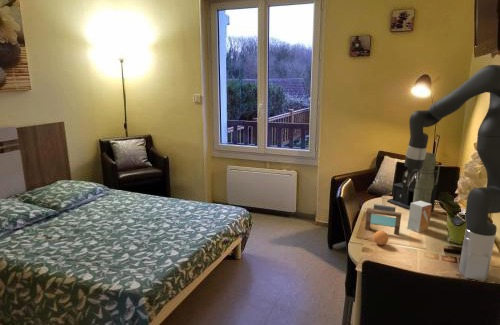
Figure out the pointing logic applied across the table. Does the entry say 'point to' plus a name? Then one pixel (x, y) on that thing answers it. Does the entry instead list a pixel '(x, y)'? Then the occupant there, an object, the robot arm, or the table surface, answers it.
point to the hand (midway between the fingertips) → (408, 191)
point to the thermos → (426, 179)
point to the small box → (419, 216)
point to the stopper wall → (384, 207)
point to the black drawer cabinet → (409, 196)
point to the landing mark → (383, 220)
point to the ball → (380, 237)
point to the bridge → (383, 212)
